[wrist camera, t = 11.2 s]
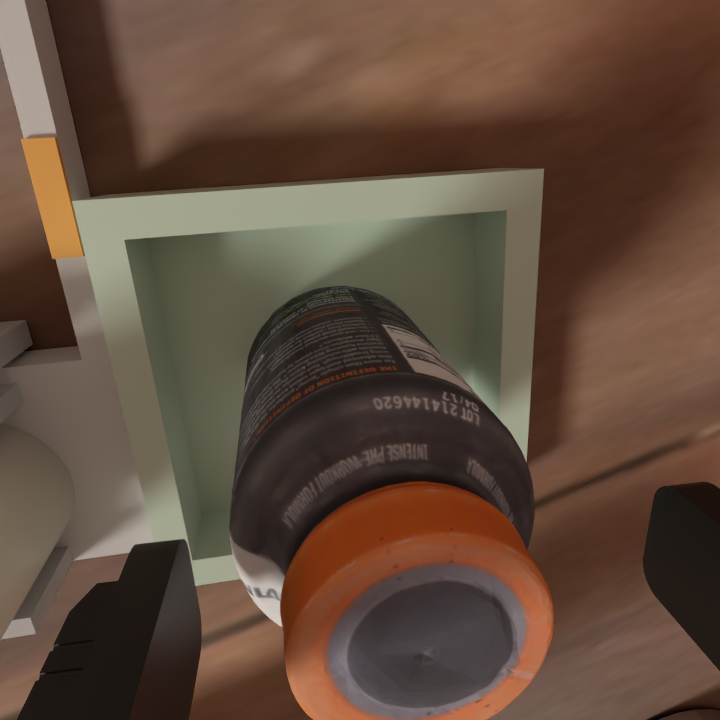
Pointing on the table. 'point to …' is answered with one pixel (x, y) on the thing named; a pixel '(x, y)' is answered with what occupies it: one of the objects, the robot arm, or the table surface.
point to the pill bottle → (383, 519)
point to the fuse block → (56, 369)
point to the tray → (279, 285)
